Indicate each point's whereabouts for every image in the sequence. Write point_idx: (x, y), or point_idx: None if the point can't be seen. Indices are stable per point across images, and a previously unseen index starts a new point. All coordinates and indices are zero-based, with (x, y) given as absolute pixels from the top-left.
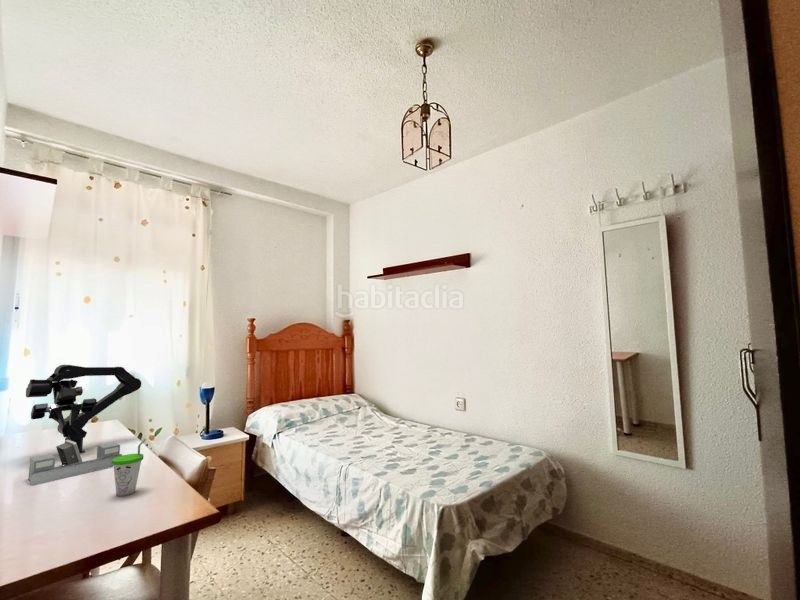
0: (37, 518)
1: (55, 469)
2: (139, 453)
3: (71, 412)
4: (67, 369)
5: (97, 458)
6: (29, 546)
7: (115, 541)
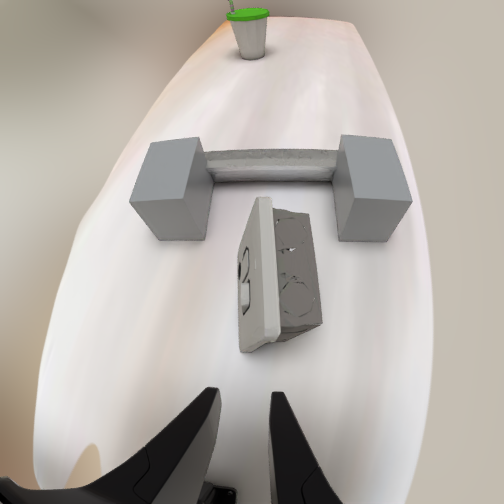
0: (347, 58)
1: (333, 150)
2: (232, 10)
3: (152, 499)
4: None
5: (200, 218)
6: (347, 34)
7: (295, 19)
